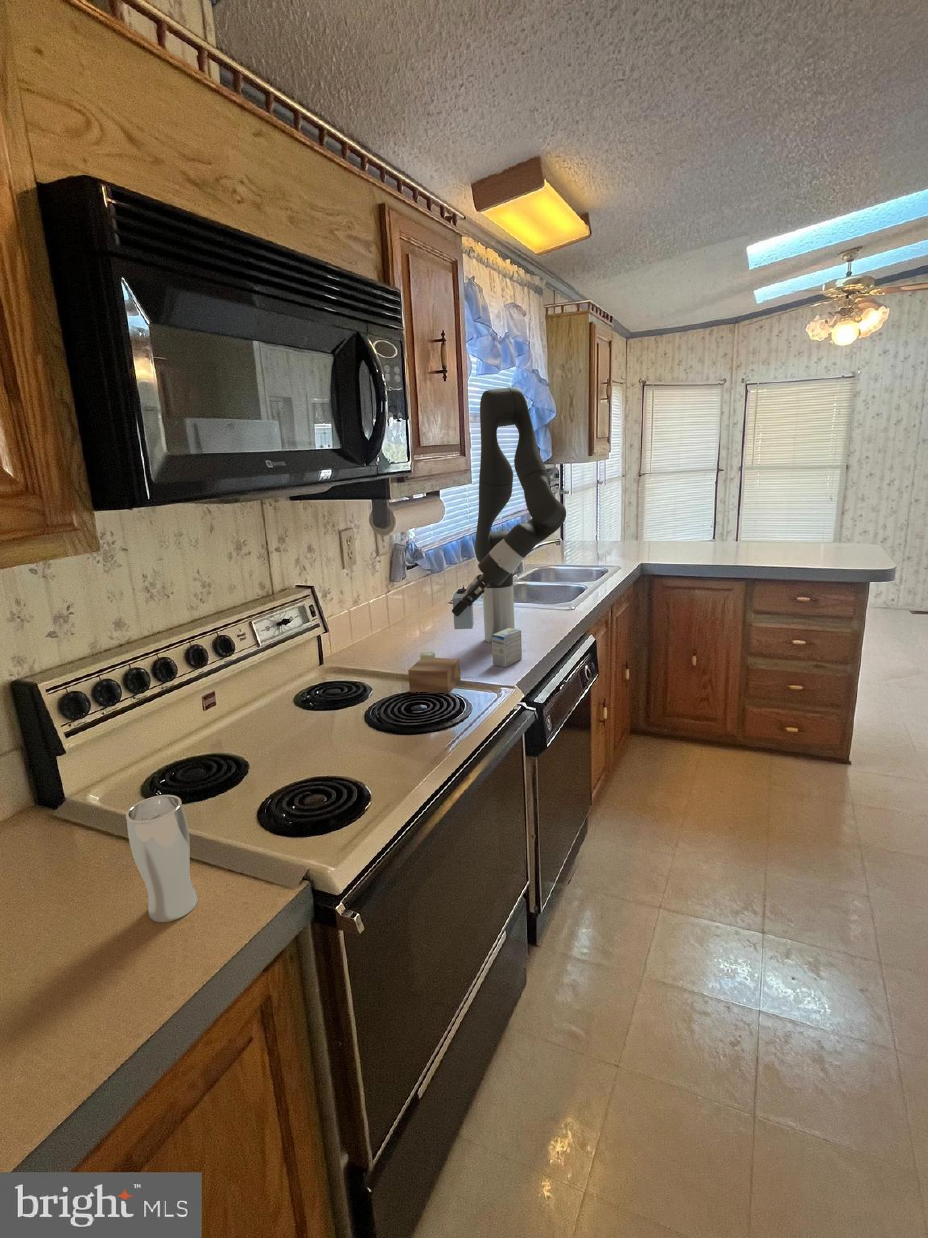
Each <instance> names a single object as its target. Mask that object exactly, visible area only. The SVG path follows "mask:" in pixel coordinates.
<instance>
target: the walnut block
mask: <svg viewBox="0 0 928 1238" xmlns="http://www.w3.org/2000/svg"><path fill="white" fill-rule="evenodd" d="M460 664H461V663H460V658H451V657H450V658H449V657H448V658H447V657H435V658H428V657H422V658H421V659H420V658H419V660H418V661H417V662H415V663H414V664H413V665H412V666H411V667H410V668H409V669H408V670H407V671H408V672H407V673H408V684H409V693H414V694H416V692H418V693H417V694H421V693H420V692H427V693H426V694H430V693H443V694H442V695H447V694H448V695H450V693H452V691H453V690H454V689H455V687H456V686H458V684H459V683H460V681H461V668H460V666H461V665H460ZM458 682H459V683H458ZM457 683H458V684H457ZM428 692H429V693H428Z"/></svg>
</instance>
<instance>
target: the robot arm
mask: <svg viewBox="0 0 928 1238" xmlns="http://www.w3.org/2000/svg"><path fill="white" fill-rule="evenodd" d="M530 413H531V412H530V409H529V406H528V402H527V400H526V396H525V395H524V392H523V391H522V389H520V388H518V387H516V386H511V387H503V388H493V389H487V390H485V391H483V393H482V394H481V397H480V404H479V423H480V424H479V426H480V429H479V430H480V463H479V475H478V478H479V480H478V481H479V482H478V517H477V526H476V532H475V545H474V548H475V549H474V553H475V558H476V560H477V562H478V565H477V568H478V570H479V571H480V572H481V573H482V574H481V573H479V574H477V575H476V576H475V577H473V581H471V583H469V585H468V586H467V588H465V591H464V592H463V594H465V596H464V597H462V598H461V601H460V602H459V603H458V604H457V605H456V606H455V607H454V608H453V607H452V609H451V613H452V614H453V615H454V614H455V615H456V616H459V615H460V614H461V613H462V612H463V611H464V610H465V609H466V607H467V606H471V605H472V603H473V604H474V602H476V601H477V600H478V599H480V597H481V596H482V604H483V605H482V608H483V624H484V625H483V628H484V630H483V631H484V641H485V642H486V643H489V644H492V635H493V634H495V633H498V632H500V631H502V630H505V629H507V628H513V629H516V628H515V626H516V625H515V606H514V604H515V602H514V580H513V579H514V578H513V577H514V571H515V570H516V569H517V568H518V567H519V566H520V564H521V563H522V562H523V560H524V559H525V558H526V557H527V556H528V555H529V554H530V553H531V551H532V550H533V549H534V548H535V547H536V546H537V545H539V544H540V543H542V542H543V541H545V540H546V539H547V538H549V537H550V536H552V535H553V534H554V533H555V532H557V531H558V530H559V529H560V527H561V526H563V524H564V522H565V520H566V517H567V509H566V507H565V506H564V505H563V503H561V502H560V501H559V500H558V499H557V498H556V497H555V496H554V493H553V492H552V489H551V477H550V475H549V473H548V470H547V468H546V466H545V462H544V461H543V458H542V456H541V453H540V451H539V450H540V449H539V447H538V444H537V439H536V434H535V431H534V430H535V429H534V426H533V422H532V419H531V414H530ZM508 426H515V427H516V429H517V432H518V440H517V445H516V449H515V453H514V460H513V463H514V465H513V466H514V470H515V473H516V475H517V476H516V477H517V478H518V480H519V483H520V486H521V488H522V490H523V496H524V500H525V506H526V509H527V511H528V513H529V516H530V517H531V518H530V520H528V521H527V522H525V523H517V524H516V525H514V526H513V527H512V528H511V529H510V530H509V531H508V530H497V531H495V530H494V531H491V529H492V526H493V524H494V522H495V520H496V518H497V517H498V516H499V514H500V513H501V512H502V511H503V510H504V509H505V507H506V506H507V504H508V502H509V501H510V499H511V497H512V494H513V486H514V485H513V484H514V481H513V480H514V471H513V467H512V465H511V463H510V462H509V460H508V458H507V457H506V455H505V453H504V452H503V451H502V449H501V447H500V444H499V442H498V428H500V427H508ZM468 596H470V597H471V598H472V600H471V601H470V600H469V599H468V598H467V597H468Z"/></svg>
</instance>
